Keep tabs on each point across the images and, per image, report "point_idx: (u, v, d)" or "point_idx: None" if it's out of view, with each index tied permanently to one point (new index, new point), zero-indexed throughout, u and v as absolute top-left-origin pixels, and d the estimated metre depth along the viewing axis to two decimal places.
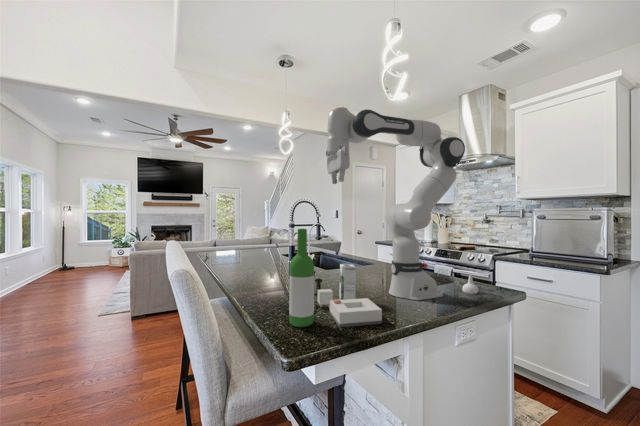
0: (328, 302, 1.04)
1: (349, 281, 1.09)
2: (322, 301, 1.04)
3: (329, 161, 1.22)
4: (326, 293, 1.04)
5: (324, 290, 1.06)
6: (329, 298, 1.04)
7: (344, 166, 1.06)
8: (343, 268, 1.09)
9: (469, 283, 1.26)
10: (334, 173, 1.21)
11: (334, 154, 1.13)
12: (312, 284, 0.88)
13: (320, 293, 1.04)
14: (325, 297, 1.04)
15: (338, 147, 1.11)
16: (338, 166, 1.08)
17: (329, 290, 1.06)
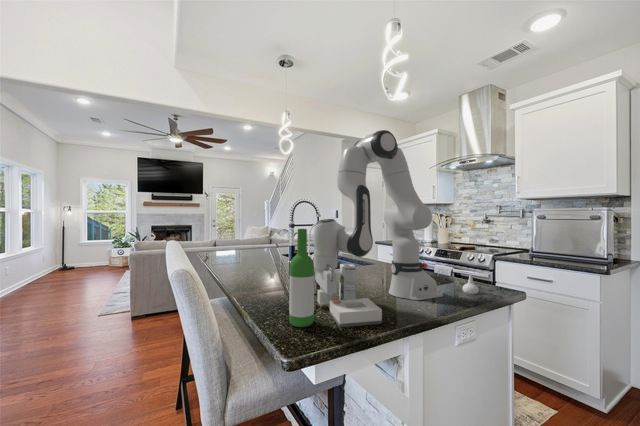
0: (328, 302, 1.04)
1: (349, 281, 1.09)
2: (322, 301, 1.04)
3: (316, 269, 1.12)
4: None
5: None
6: None
7: (331, 293, 0.96)
8: (343, 268, 1.09)
9: (469, 283, 1.26)
10: None
11: (321, 271, 1.03)
12: (312, 284, 0.88)
13: (320, 293, 1.04)
14: None
15: (325, 266, 1.01)
16: (324, 290, 0.99)
17: None
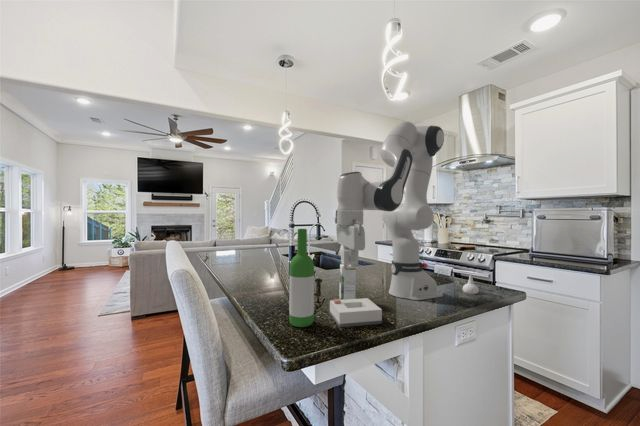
0: (353, 262, 0.95)
1: (349, 281, 1.09)
2: (347, 261, 0.94)
3: (339, 230, 1.03)
4: None
5: (348, 250, 0.96)
6: None
7: (358, 248, 0.87)
8: (343, 268, 1.09)
9: (469, 283, 1.26)
10: None
11: (345, 228, 0.94)
12: (312, 284, 0.88)
13: (344, 252, 0.94)
14: None
15: (350, 221, 0.92)
16: (351, 246, 0.89)
17: None
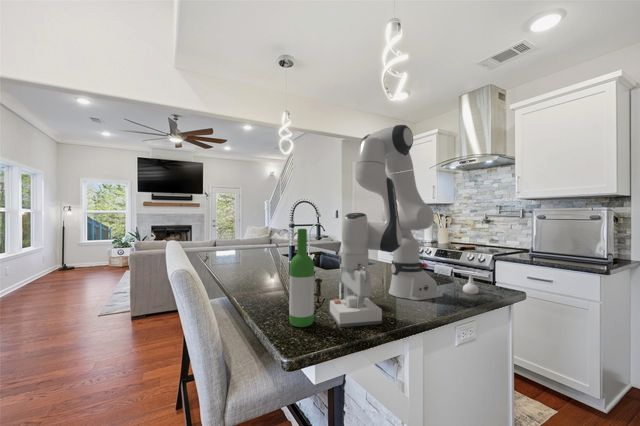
0: None
1: None
2: None
3: (343, 269, 1.01)
4: (356, 300, 0.93)
5: (353, 297, 0.95)
6: None
7: (364, 296, 0.85)
8: None
9: (469, 283, 1.26)
10: None
11: (351, 271, 0.92)
12: (312, 284, 0.88)
13: (349, 300, 0.93)
14: (355, 305, 0.93)
15: (356, 265, 0.90)
16: (356, 292, 0.87)
17: None
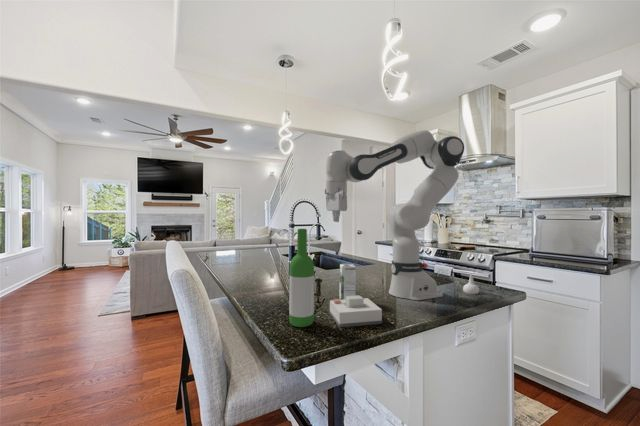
0: None
1: (349, 281, 1.09)
2: None
3: (328, 199, 1.27)
4: (356, 300, 0.93)
5: (353, 297, 0.95)
6: (359, 306, 0.93)
7: (342, 209, 1.11)
8: (343, 268, 1.09)
9: (470, 283, 1.26)
10: None
11: (332, 195, 1.18)
12: (312, 284, 0.88)
13: (349, 300, 0.93)
14: (355, 305, 0.93)
15: (336, 189, 1.16)
16: (336, 208, 1.14)
17: (359, 297, 0.95)
